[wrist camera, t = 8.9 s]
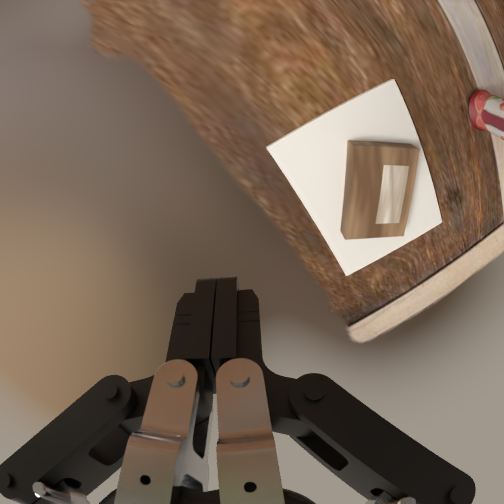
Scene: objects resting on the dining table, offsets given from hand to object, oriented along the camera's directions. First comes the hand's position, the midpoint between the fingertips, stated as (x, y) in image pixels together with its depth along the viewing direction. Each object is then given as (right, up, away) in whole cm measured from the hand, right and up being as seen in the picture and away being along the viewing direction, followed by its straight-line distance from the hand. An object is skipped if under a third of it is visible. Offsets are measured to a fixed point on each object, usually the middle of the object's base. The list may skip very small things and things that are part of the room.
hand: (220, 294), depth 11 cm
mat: (+18, +11, +28) cm, 36 cm away
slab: (+14, +10, +27) cm, 32 cm away
